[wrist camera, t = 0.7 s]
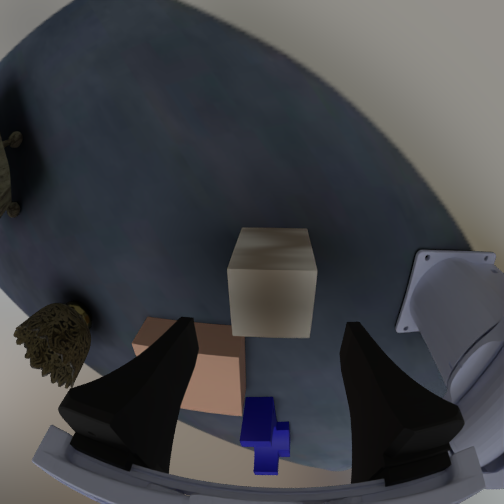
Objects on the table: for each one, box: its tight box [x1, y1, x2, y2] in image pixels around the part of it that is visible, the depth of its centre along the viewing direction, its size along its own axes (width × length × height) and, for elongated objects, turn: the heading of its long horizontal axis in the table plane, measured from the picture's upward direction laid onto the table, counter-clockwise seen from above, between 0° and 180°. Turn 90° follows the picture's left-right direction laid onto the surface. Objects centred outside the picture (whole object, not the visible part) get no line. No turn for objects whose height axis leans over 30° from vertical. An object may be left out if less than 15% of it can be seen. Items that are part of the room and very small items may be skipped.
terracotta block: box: [132, 317, 246, 416], centre depth 24 cm, size 9×9×4 cm
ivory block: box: [227, 228, 317, 338], centre depth 17 cm, size 4×4×6 cm
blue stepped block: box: [240, 397, 290, 475], centre depth 27 cm, size 12×4×6 cm, turn 8°
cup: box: [14, 300, 92, 388], centre depth 21 cm, size 8×7×8 cm
